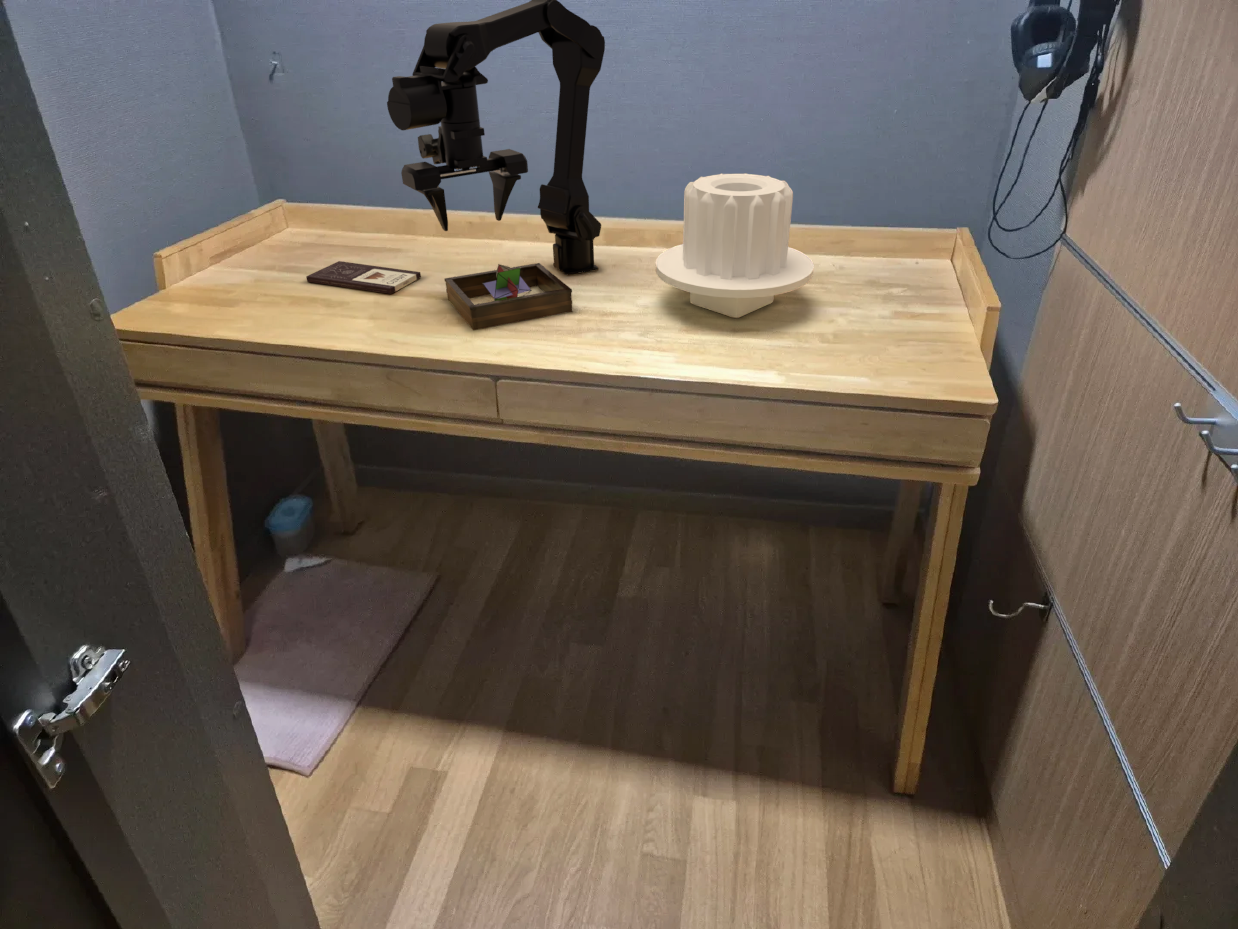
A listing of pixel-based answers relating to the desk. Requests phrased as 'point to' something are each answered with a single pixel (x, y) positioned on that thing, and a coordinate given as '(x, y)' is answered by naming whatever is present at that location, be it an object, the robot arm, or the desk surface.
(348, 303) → the desk surface
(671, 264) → the ribbed cylinder on disc
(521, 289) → the geometric puzzle
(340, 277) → the chocolate bar
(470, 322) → the square wooden frame
